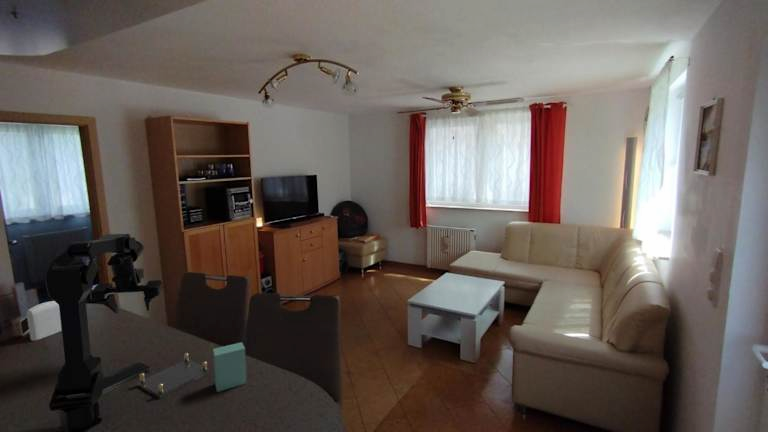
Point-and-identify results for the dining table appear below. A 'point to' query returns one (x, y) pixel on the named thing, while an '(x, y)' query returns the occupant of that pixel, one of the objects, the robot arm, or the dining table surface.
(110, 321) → the dining table surface
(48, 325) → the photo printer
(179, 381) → the chassis
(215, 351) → the teal rectangular block
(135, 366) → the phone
